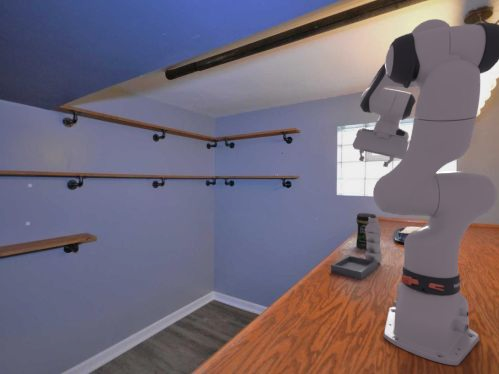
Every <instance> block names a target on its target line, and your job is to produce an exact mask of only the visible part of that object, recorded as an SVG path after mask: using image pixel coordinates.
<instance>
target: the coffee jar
mask: <svg viewBox="0 0 499 374" xmlns="http://www.w3.org/2000/svg"><path fill="white" fill-rule="evenodd" d="M369 217H377V216H376V214H374V213H368V212H367V213H366V212H365V213H364V212H360V213H358V214H357V215H356V223H357V236H356V242H355V243H356V245H355V246H356V247H357V248H359V249H363V250H366V247H367V241H366V233H365V228H366V226H367V225H368V223H369V222H368V220H369Z"/></svg>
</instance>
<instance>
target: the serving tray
mask: <svg viewBox="0 0 499 374" xmlns="http://www.w3.org/2000/svg"><path fill="white" fill-rule="evenodd" d="M377 269H378V263H377V261H375V260H370V259H366V257H365V258H364V257H360V256H356V255H355V256H354V255H350V254H349V255H346V256H345V257H342V259H340V260H337V261H336V262H334V263H332V264H331V265H330V272H331V273H333V274H336V275H340V276H344V277H347V278H351V279H356V280H359V281H363V279H365V278H366V277H368V276H369V275H370V274H371V273H373V272H374V271H376V270H377Z"/></svg>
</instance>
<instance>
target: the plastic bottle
mask: <svg viewBox="0 0 499 374" xmlns="http://www.w3.org/2000/svg"><path fill="white" fill-rule="evenodd" d="M368 222H369V223H368V225H367V226H366V228H365V233H366V241H367V247H366V249H365V250H366V251H365V255H364V257H365V259H370V260H375V261H377V264H380V263H381V262H382V260H383V257H382V256H383V255H382V252H381V251H382V250H381V249H382V248H381V236H382V227H381V226H380V224H379V218H378V217H377V216H376V217H369V220H368Z"/></svg>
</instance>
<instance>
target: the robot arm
mask: <svg viewBox="0 0 499 374" xmlns="http://www.w3.org/2000/svg"><path fill="white" fill-rule="evenodd" d="M498 62H499V23H495V22H478V23H476V24H464V25H463V24H462V25H452V26H450V24H449V23H448V22H447V21H445V20H442V19H437V18H436V19H435V18H432V19H427V20H424V21H423V22H420V23H419V24H418V25H417V26H415V27H414V28H413V30H412V31H411V32H409V33H406V34H403V35H401V36H398V37H397V38H396V37H395V38H394V40H393V41H392V42H391V44H390V45H389V49H388V50H387V53H386V56H385V60H384V63H383V64H382V65H381V67H380V68H379V70H378V71H377V73H376V74H375V76H374V77H373V79H372V81H371V82H370V84H369V85H368V87H367V88H366V89H365V90H364V91H363V93H362V95H361V97H360V101H359V107H360V108H361V110H362V111H363V113H368V114H375V115H379V118H378V119H377V121H376V123H375V125H374V127H373V129H370V128H365V127H363V128H360V129H358V130H357V132H356V134H355V135H356V136H355V138H354V140H353V143H352V147H353V149H354V150H358V152H359V159H358V160H359V161H360V162H364V160H365V156H363V154H364V153H365V152H367V153H371V154H376V155H380V156H385V157H389V160H387V161H384V162H383V165H382V166H383V167H385V168H388V166H389V164H391V163H392V162H393V161H394V159H398V160H401V161H400V162H399V163H398V164H397V165H396V166H395V167H394V168H393V169H392V170H390V171H389V172H388V173H386V174H384V175H382V176H380V178H378V180H377V181H376V183H375V184H374V187H373V192H372V193H373V194H372V195H373V197H372V198H373V200H374V202H375V204H376V207H378V208H379V210H380V211H382V212H383V213H388V214H393V215H400V216H417V217H418V216H419V217H420V216H421V217H422V216H424V217H426V216H428V217H429V219H428V221H427V222H426V224H424V225H423V226H422V227H420V228H417V229H415V230H412V231H411V232H410V233H408V234H407V235H406V237H405V239H404V242H403V243H404V244H403V245H404V251H403V252H404V253H403V254H404V255H403V256H404V258H403V260H404V261H403V262H404V264H403V265H402V269H401V281H400V282H399V283H397V294H396V300H394V301H393V303H392V304H393V306H391V307H388V313H387V315H386V316H387V317H386V322H385V326H384V332H383V338H385V340H387V341H389V342H390V343H391V344H393V345H394V346H396V347H399V348H401V349H402V350H404V351H406V352H409V353H411V354H413V355H416V356H418V357H421V358H424V359H427V360H429V361H433V362H436V363H440V364H444V365H450V366H458V365H460V363H461V362H462V361H463V360H464V359H465V358H466V356H467V355H468V354H469V353H470V352H471V351H472V349H473V348H474V347H475V346H476V345H477V343H478V342H479V341H480V337H479V334H478V333H477V332H475V331H473V330H472V329H470V323H469V317H470V316H469V301H468V300H467V299H466V298H465V296H463V295H462V293H461V292H460V290H461V284H462V283H461V281H462V279H461V275H460V273H458V271H459V269H458V268H459V265H458V264H459V252H460V245H461V241H462V238H463V237H464V234H465V233H466V231H467V230H468V228H469V227H470V226H471V224H473V223H474V222H475V221H476V220H477V219H478V218H480V217H482V216H483V215H485V214H487V213H488V212H490V211H491V210H492V209H493V208H494V206H495V204H496V202H497V199H498V191H497V187H496V185H495V183H494V181H492V180H491V178H489V177H488V176H487V175H485V174H481V173H480V174H479V173H474V172H466V171H439V170H441V169H442V168H443V167H444V166H446V165H447V164H449V163H452V162H454V161H456V160H458V159H460V158H461V157H463V156H464V155H465V154H466V153H467V152H468V151H469V149H470V146H471V141H472V137H473V132H474V128H475V124H476V119H477V116H478V110H479V104H480V96H481V74H484V73H486V72H488V71H490V70H491V69H492V68H494V66H495V65H496V64H497V63H498ZM389 87H395V88H405V89H408V88H415V87H418V96H417V100H416V98H415V96H414V94H413V93H412V92H408V91H402V90H397V89H393V88H389ZM414 105H415V109H414V117H413V123H412V130H411V135H410V136H409V132H408V131H406V130H405V129H402V128H400V126H401V121H404V120H406V119H407V118H409V117H410V116H411V114H412V111H413V107H414ZM409 137H410V140H409Z"/></svg>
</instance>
